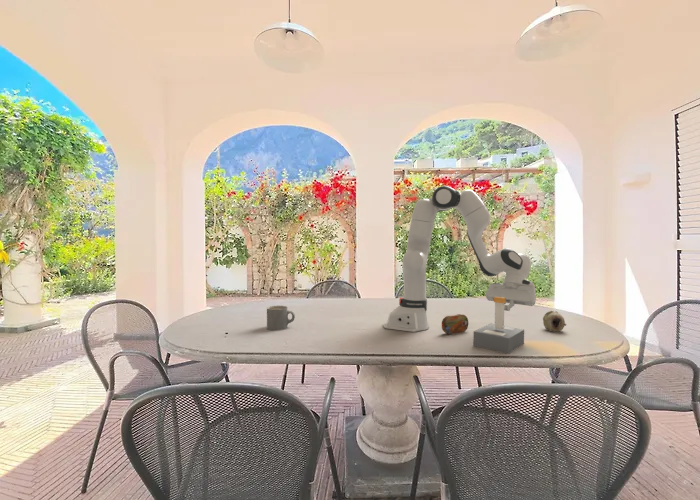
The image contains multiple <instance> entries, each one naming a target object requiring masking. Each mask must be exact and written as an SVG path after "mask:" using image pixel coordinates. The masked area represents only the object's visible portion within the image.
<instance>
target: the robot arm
mask: <svg viewBox="0 0 700 500" xmlns="http://www.w3.org/2000/svg"><path fill="white" fill-rule="evenodd" d="M452 209H456V210H457V211H458V212H459V213H460V215H461V216H462V218H463V220H464V222H465V226H466V235H467V239H468V241H469V243H470V246H471V247H472V250H473V252H474V254H475V257H476V259H477V261H478V266H479V269H480V271H481V272H482V274H483V275H485V276H487V277H489V278H490V277H491V278H492V277H495V276H497V275H499V274H501V273H505V277H504V279H503V282H502V283H501V282H500V283H499V282H498V283H497V282H493V283H490V284H488V285H489V286H488V288H487V290H486V292H485V298H486V299H487V301H491V302H494V297H504V298H506V303H504V311H505V312H510V311H511V308H513V307H515V305H521V306H529V307H533V306H535V305H536V301H537V294H536V292H537V290H536V289H537V288H536V286H535V284H534V282H533V281H531V280H529V279H527V278H528V277H529V275H530V273H531V272H530V271H531V265H532V264H531V258H530V257H529V256H528V255H526V254H524V253H517V252H516V251H514V250H513V249H512V248H510V247H509V248H508V247H506V248H505V247H504V248H502V249H499V250H496V251H495V252H492V253H491V254H490V253H489V251H488V249H487V247H486V245H485V243H484V240H483V234H484V231H485V230H486V229H487V227H488V226H489V223H490V220H491V215H490V211H489V209H488V207H486V205H485V203H484V202H483V201H482V200H481V198H480V197H479V196H478V195H477V193H476V192H474V190H472V189H464V190H462V191H459V190H456V189H455V188H452V187H451V186H448V185H442V186H438V187H437V188H436V189H435V190H434V191H433V193H432V196H431V197H430V198H421V199H418V200H417V201H416V203H415V205H414V207H413V211H412V215H411V220H410V225H409V230H408V235H407V236H408V237H407V245H406V246H407V247H406V252H405V253H404V254H403V257H402V275H403V276H402V277H403V297H400V298H399V300H398V301H399V303H398V306H397V307H396V308H394V309H393V310H391V311H390V312H389V315H388V317H387V320H386V321H383V327H384V329H390V330H397V331H403V332H404V331H405V332H413V333H415V332H419V331H426V330H428V329H430V325H429V322H428V321H429V320H428V315H427V313H428V312H427V311H428V299H427V262H428V257H429V253H430V252H429V251H430V246H431V240H432V235H433V229H434V225H435V224H434V223H435V220H436V215H437V213H438V212H439V213H440V212H446V211H450V210H452ZM506 304H507V305H506Z"/></svg>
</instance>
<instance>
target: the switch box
mask: <svg viewBox="0 0 700 500" xmlns="http://www.w3.org/2000/svg"><path fill="white" fill-rule="evenodd" d="M472 338H473V339H472V341H473V342H472V343H473V346H474V347H477V348H482V349H486V350H491V351H494V352H499V353H502V354H503V353H505V354H510V353H512V352H513V351H515V350H516V349H518V348H519V347H521V346H522V345H524V344H525V329H523V328H520V327H513V326H508V325H504V329H503V330H502V329H497V328H495V323H489V324H486V325H484V326H482V327H479V328H478V329H476V330H473V337H472Z"/></svg>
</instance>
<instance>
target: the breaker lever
mask: <svg viewBox="0 0 700 500" xmlns="http://www.w3.org/2000/svg"><path fill="white" fill-rule="evenodd" d="M493 303H494V324H495V328H497V329H502V330H503V329H504V326H505V310H504V305H505V304H504V303H506V298H504V297H494V301H493ZM506 304H507V303H506Z"/></svg>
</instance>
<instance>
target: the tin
mask: <svg viewBox="0 0 700 500" xmlns="http://www.w3.org/2000/svg"><path fill="white" fill-rule="evenodd" d="M468 328H469V319H468V317H467V316H466V315H465V314H460V313H458V314H457V313H456V314H453V315H452V314H451V315H446V316H444V318H443V319H442V320H441V330H442V332H443V333H445V334H448V335H457V334H459V333H460V334H461V333H465V331H467V329H468Z"/></svg>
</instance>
